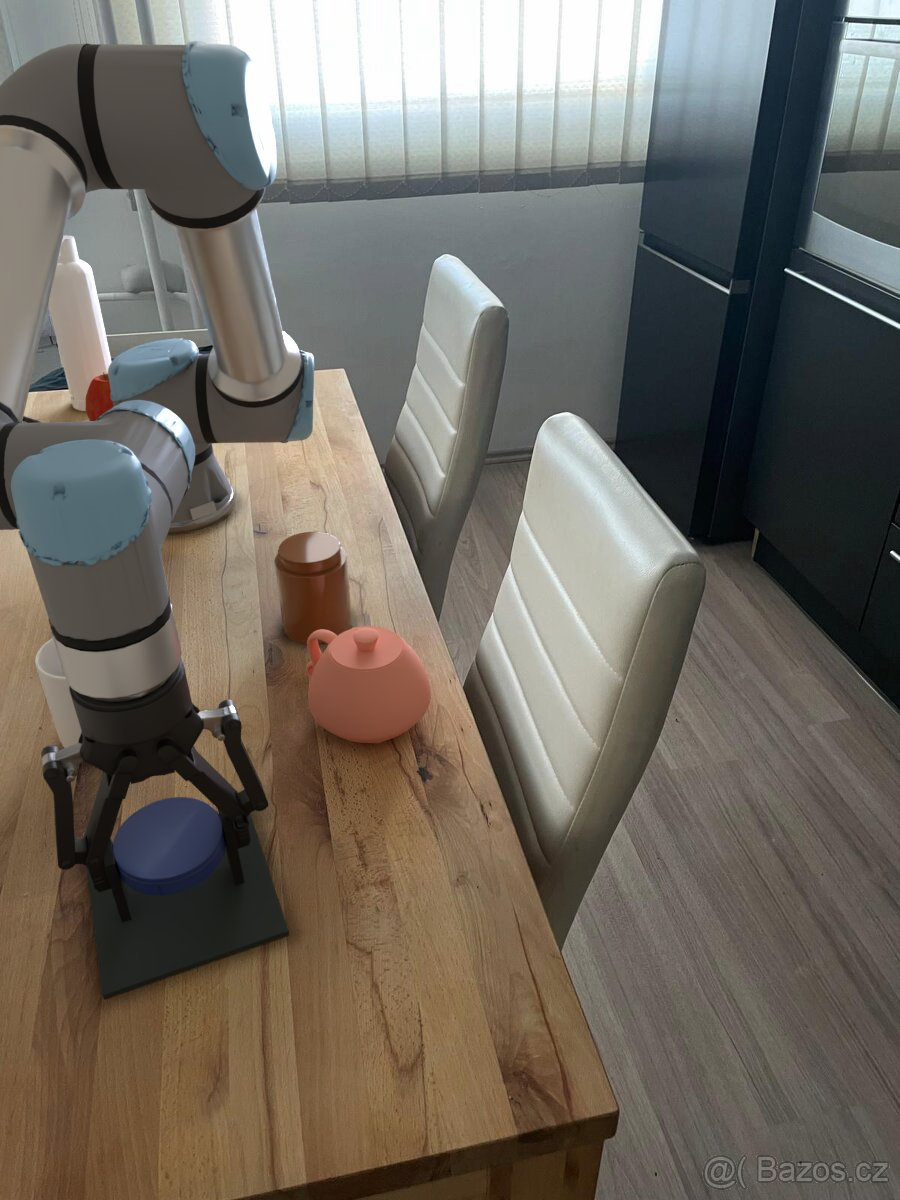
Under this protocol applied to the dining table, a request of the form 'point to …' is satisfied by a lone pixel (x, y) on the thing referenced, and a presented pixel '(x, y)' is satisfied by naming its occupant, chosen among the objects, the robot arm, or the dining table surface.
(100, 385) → the apple
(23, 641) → the dining table surface
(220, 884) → the mat
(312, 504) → the dining table surface
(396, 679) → the sugar bowl
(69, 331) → the bottle
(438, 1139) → the dining table surface
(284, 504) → the dining table surface
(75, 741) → the mug
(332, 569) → the jar
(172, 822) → the lid
